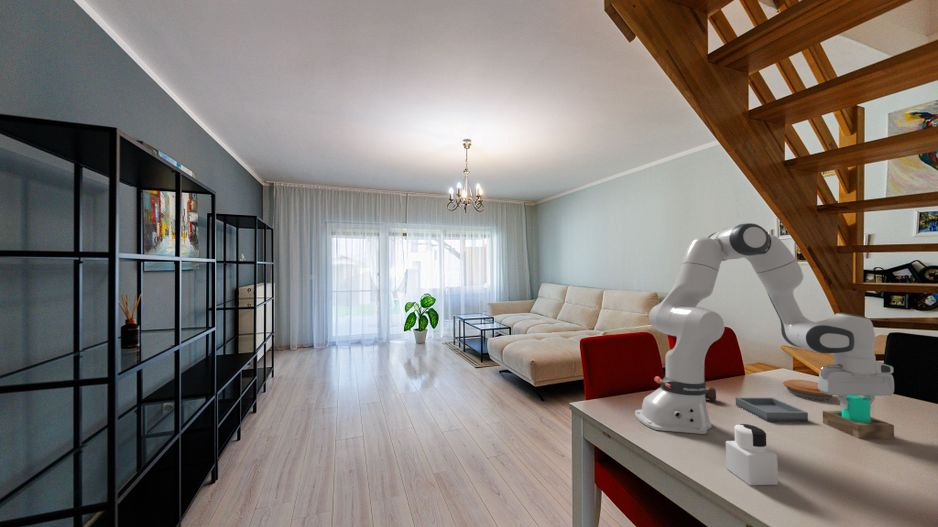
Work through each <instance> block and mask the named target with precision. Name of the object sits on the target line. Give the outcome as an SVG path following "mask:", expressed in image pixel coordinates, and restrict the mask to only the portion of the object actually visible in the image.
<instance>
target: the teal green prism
mask: <svg viewBox="0 0 938 527" xmlns="http://www.w3.org/2000/svg"><path fill="white" fill-rule="evenodd" d="M846 400H847V402H848V404H849V409H844V408H841V411H842V417H844V418H847V419H849V420H852V421H854V422H857V423H871V418H870V417H871V409H870V400H869V399H868V398H864V396H861V395H848V398H846Z"/></svg>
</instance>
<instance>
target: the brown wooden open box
mask: <svg viewBox="0 0 938 527" xmlns="http://www.w3.org/2000/svg"><path fill="white" fill-rule="evenodd" d="M870 418H871V423H857V422H854V421H852V420H849V419H847V418H844V417H842V410H822V423H823V424H825V425H827V426H829V427H832V428H834V429H835V430H839V431H840V432H843V433H845V434H847V435H850V436H851V437H852V436H853V437H854V438H857V439H882V440H883V439H884V440H886V439H895V425H894V424H893V423H889V422H886V421H883V420H880V419H878V418H876V417H872V416H870Z"/></svg>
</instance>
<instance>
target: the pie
mask: <svg viewBox="0 0 938 527" xmlns="http://www.w3.org/2000/svg"><path fill="white" fill-rule="evenodd" d="M782 384H783V386H784V387H785V388H786V389H787V391H788V392H789V393H790V394H791V393H792V395H793V394H794V395H793V396H796V395H797V396H796V397H799V396H800V397H799V398H802V397H804V399H807V398H808V400H812V399H814V400H813V401H828V399H829V400H830V399H831V398H833V395H828V394H825V393H823V392H821V391H820V390H819V389H818V382H816V381H811V380H805V379H789V380H785V381H783V382H782Z"/></svg>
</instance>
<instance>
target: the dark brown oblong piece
mask: <svg viewBox="0 0 938 527" xmlns="http://www.w3.org/2000/svg"><path fill="white" fill-rule="evenodd" d="M705 400H708V402H709V403H712V402H713V403H716V401H717V391H716V388H715V387H709V388H708V389H706V397H705Z"/></svg>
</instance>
